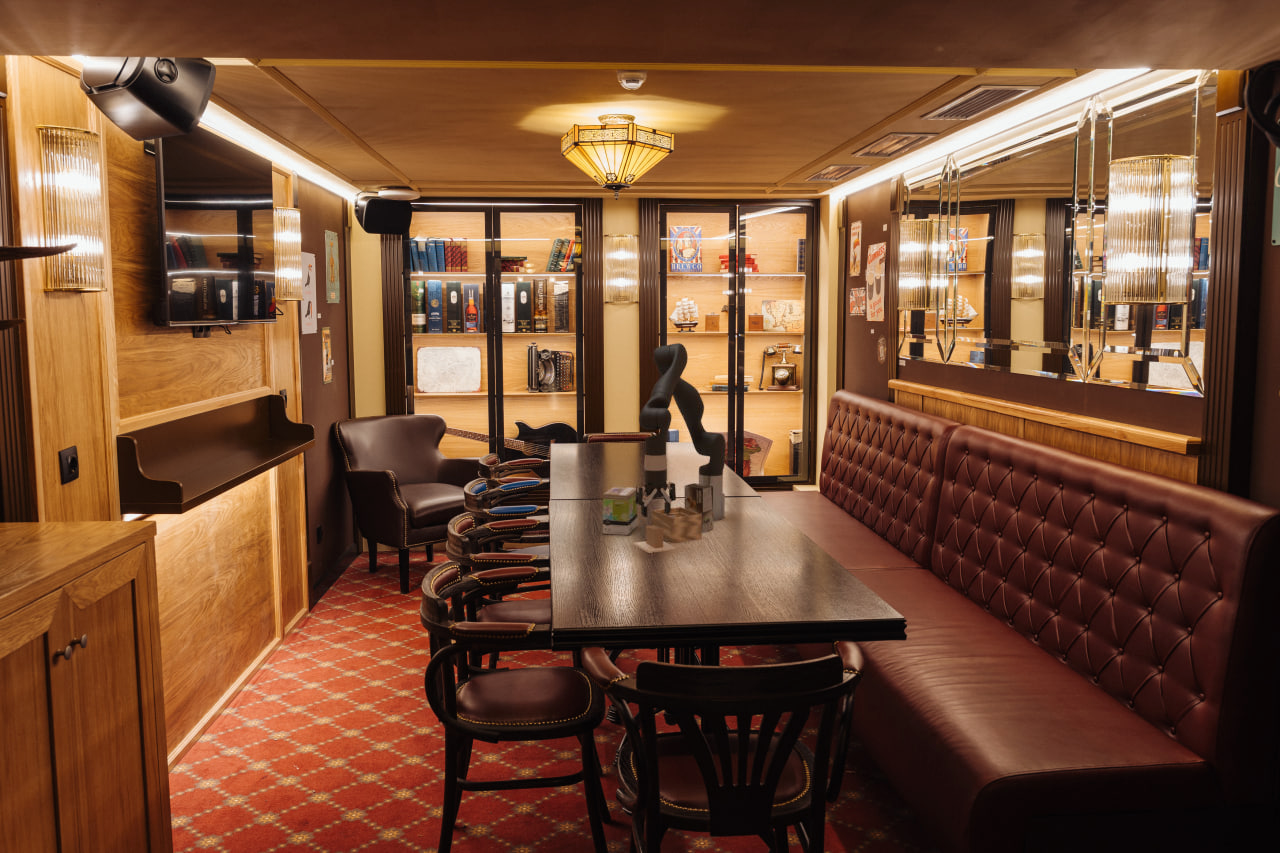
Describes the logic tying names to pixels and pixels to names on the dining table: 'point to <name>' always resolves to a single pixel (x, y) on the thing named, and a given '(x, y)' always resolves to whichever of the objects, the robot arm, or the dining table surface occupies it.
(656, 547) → the lid
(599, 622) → the dining table surface
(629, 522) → the tea box
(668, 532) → the crate
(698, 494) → the coffee box
